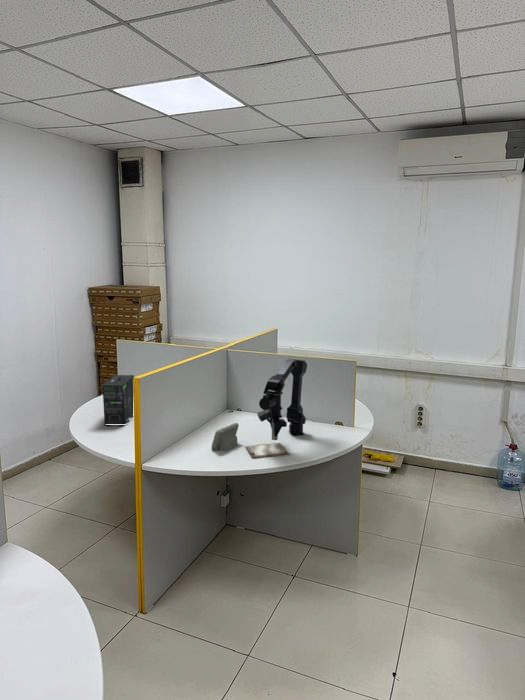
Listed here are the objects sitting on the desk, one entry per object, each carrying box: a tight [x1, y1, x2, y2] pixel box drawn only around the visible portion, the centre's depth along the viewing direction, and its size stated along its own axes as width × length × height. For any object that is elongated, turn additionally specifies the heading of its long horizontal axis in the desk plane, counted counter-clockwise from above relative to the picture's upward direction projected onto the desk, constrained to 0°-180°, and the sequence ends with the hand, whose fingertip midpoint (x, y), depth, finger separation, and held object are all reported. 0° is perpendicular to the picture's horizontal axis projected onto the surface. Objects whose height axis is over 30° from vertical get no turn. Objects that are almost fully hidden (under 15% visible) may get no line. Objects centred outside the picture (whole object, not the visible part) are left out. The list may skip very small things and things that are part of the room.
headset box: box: [101, 374, 135, 425], centre depth 275 cm, size 22×12×26 cm, turn 179°
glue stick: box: [271, 426, 279, 441], centre depth 235 cm, size 3×3×9 cm
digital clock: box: [211, 422, 239, 452], centre depth 237 cm, size 16×9×11 cm, turn 132°
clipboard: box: [244, 442, 290, 459], centre depth 232 cm, size 18×14×2 cm
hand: (274, 435), depth 236 cm, fingers closed on glue stick, 3 cm apart
